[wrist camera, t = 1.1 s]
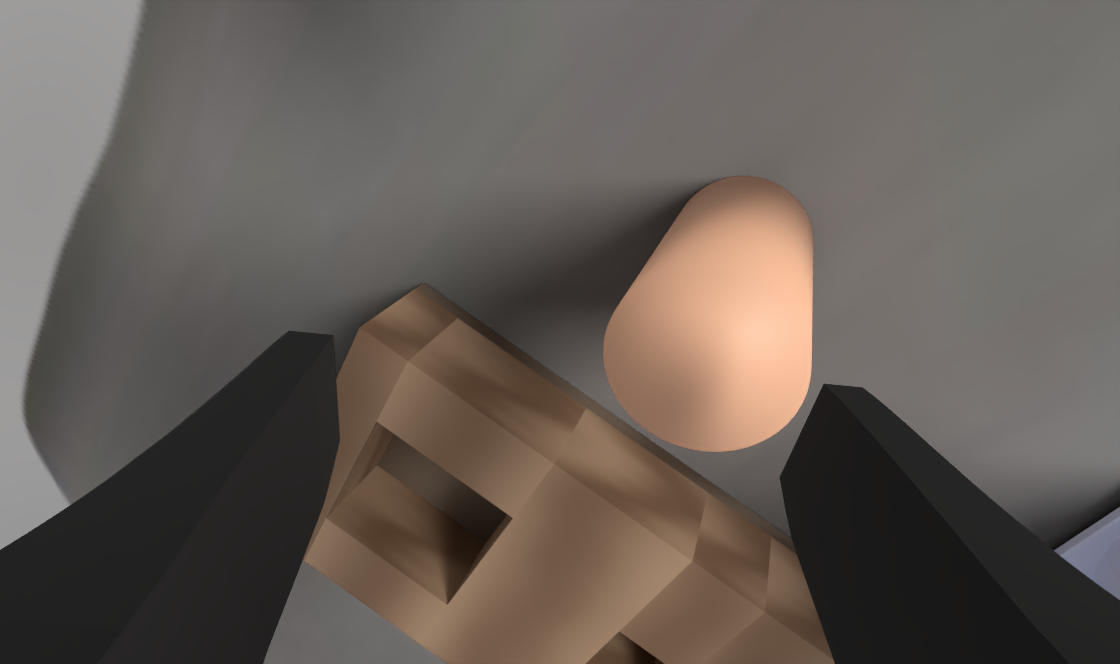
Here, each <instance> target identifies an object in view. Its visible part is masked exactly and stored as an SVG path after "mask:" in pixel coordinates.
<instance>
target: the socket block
mask: <svg viewBox="0 0 1120 664" xmlns="http://www.w3.org/2000/svg"><path fill="white" fill-rule="evenodd" d="M336 383H337V399H338V414H339V429H340V443H339V447H338V451H337V455H336V459H335V463H334V468H333V472H332V476H331V479H330V483H329V487H328V491H327V495H326V499H325V502H324V505H323V508H322V511H321V513H320V516H319V519H318V521H317V524H316V527H315V529H314V532H313V534H312V537H311V540H310V542H309V545H308V547H307V550H306V553H305V555H304V558H303V560H304V561H305V562H307V563H308V564H310V565H311V566H312V567H314V568H315V569H316V570H318V571H319V572H321V573H322V574H323V575H325V576H326V577H328V578H329V579H330V580H332V581H333V582H334V583H336V584H337V585H339V586H340V587H341V588H343V589H344V590H346V591H347V592H348V593H350V594H351V595H353V596H354V597H355V598H357V599H358V600H359V601H361V602H362V603H364V604H365V605H366V606H368V607H369V608H371V609H372V610H373V611H375V612H376V613H377V614H379V615H380V616H382V617H383V618H384V619H386V620H387V621H389V622H390V623H391V624H393V625H394V626H396V627H397V628H398V629H400V630H401V631H402V632H404V633H405V634H407V635H408V636H409V637H411V638H412V639H414V640H415V641H416V642H418V643H419V644H420V645H422V646H423V647H425V648H426V649H427V650H429V651H430V652H432V653H433V654H434V655H436V656H437V657H439V658H440V659H441V660H443V661H444V662H445V663H447V664H835V663H834V660H833V657H832V654H831V651H830V648H829V645H828V643H827V640H826V637H825V634H824V631H823V628H822V625H821V623H820V620H819V617H818V614H817V611H816V608H815V606H814V603H813V600H812V597H811V594H810V591H809V588H808V585H807V582H806V580H805V577H804V574H803V571H802V568H801V565H800V562H799V559H798V556H797V553H796V550H795V547H794V544H793V541H792V539H791V538H790V537H788V536H787V535H785V534H784V533H783V532H781V531H780V530H778V529H777V528H775V527H774V526H772V525H771V524H770V523H768V522H767V521H765V520H764V519H762V518H761V517H760V516H758V515H757V514H755V513H754V512H752V511H751V510H750V509H748V508H747V507H745V506H744V505H742V504H741V503H739V502H738V501H737V500H735V499H734V498H732V497H731V496H729V495H728V494H727V493H725V492H724V491H722V490H721V489H719V488H718V487H717V486H715V485H714V484H712V483H711V482H709V481H708V480H706V479H705V478H704V477H702V476H701V475H699V474H698V473H696V472H695V471H694V470H692V469H691V468H689V467H688V466H686V465H685V464H683V463H682V462H681V461H679V460H678V459H676V458H675V457H673V456H672V455H671V454H669V453H668V452H666V451H665V450H663V449H662V448H661V447H659V446H658V445H656V444H655V443H653V442H652V441H650V440H649V439H648V438H646V437H645V436H643V435H642V434H640V433H639V432H638V431H636V430H635V429H633V428H632V427H630V426H629V425H628V424H626V423H625V422H623V421H622V420H620V419H619V418H617V417H616V416H615V415H613V414H612V413H610V412H609V411H607V410H606V409H605V408H603V407H602V406H600V405H599V404H597V403H596V402H594V401H593V400H592V399H590V398H589V397H587V396H586V395H584V394H583V393H582V392H580V391H579V390H577V389H576V388H574V387H573V386H572V385H570V384H569V383H567V382H566V381H564V380H563V379H561V378H560V377H559V376H557V375H556V374H554V373H553V372H551V371H550V370H549V369H547V368H546V367H544V366H543V365H541V364H540V363H539V362H537V361H536V360H534V359H533V358H531V357H530V356H528V355H527V354H526V353H524V352H523V351H521V350H520V349H518V348H517V347H516V346H514V345H513V344H511V343H510V342H508V341H507V340H505V339H504V338H503V337H501V336H500V335H498V334H497V333H495V332H494V331H493V330H491V329H490V328H488V327H487V326H485V325H484V324H483V323H481V322H480V321H478V320H477V319H475V318H474V317H472V316H471V315H470V314H468V313H467V312H465V311H464V310H462V309H461V308H460V307H458V306H457V305H455V304H454V303H452V302H451V301H449V300H448V299H447V298H445V297H444V296H442V295H441V294H439V293H438V292H437V291H435V290H434V289H432V288H431V287H429V286H428V285H427V284H425V283H422V284H421V285H420V286H418V287H417V288H415V289H414V290H412V291H411V292H410V293H408V294H407V295H405V296H404V297H402V298H401V299H400V300H398V301H397V302H395V303H394V304H392V305H391V306H390V307H388V308H387V309H385V310H384V311H382V312H381V313H380V314H378V315H377V316H375V317H374V318H372V319H371V320H370V321H368V322H367V323H365V324H364V325H362V326H361V327H360V328H359V330H358V332H357V334H356V337H355V339H354V341H353V343H352V345H351V348H350V350H349V352H348V354H347V356H346V359H345V361H344V363H343V365H342V367H341V370H340V372H339V374H338V376H337V379H336Z"/></svg>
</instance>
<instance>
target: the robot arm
mask: <svg viewBox="0 0 1120 664" xmlns="http://www.w3.org/2000/svg"><path fill="white" fill-rule="evenodd" d="M339 443H340V429H339V414H338V399H337V383H336V368H335V353H334V338H333V335H326V334H316V333H306V332H296V331H288V332H287V333H285V334H284V335H283V336H282V337H280V338H279V339H278V340H277V341H276V342H275V343H273V344H272V345H271V346H270V347H269V348H268V349H267V350H265V351H264V352H263V353H262V354H261V355H260V356H259V357H258V358H256V359H255V360H254V361H253V362H252V363H251V364H250V365H249V366H247V367H246V368H245V369H244V370H243V371H242V372H241V373H240V374H238V375H237V376H236V377H235V378H234V379H233V380H232V381H230V382H229V383H228V384H227V385H226V386H225V387H224V388H222V389H221V390H220V391H219V392H218V393H217V394H215V395H214V396H213V397H212V398H211V399H209V400H208V401H207V402H206V403H205V404H203V405H202V406H201V407H200V408H199V409H197V410H196V411H195V412H194V413H193V414H191V415H190V416H189V417H188V418H187V419H185V420H184V421H183V422H182V423H181V424H179V425H178V426H177V427H176V428H174V429H173V430H172V431H171V432H169V433H168V434H167V435H166V436H164V437H163V438H162V439H160V440H159V441H158V442H157V443H155V444H154V445H153V446H151V447H150V448H149V449H147V450H146V451H145V452H143V453H142V454H141V455H139V456H138V457H137V458H135V459H134V460H133V461H131V462H130V463H129V464H127V465H126V466H125V467H123V468H122V469H121V470H120V471H118V472H117V473H116V474H114V475H113V476H112V477H110V478H109V479H107V480H106V481H105V482H103V483H102V484H100V485H99V486H97V487H96V488H95V489H93V490H92V491H90V492H89V493H88V494H86V495H85V496H83V497H82V498H80V499H79V500H77V501H76V502H74V503H73V504H72V505H70V506H69V507H67V508H66V509H64V510H63V511H61V512H60V513H58V514H56V515H55V516H53V517H52V518H50V519H49V520H47V521H46V522H44V523H42V524H41V525H39V526H38V527H36V528H35V529H33V530H32V531H30V532H28V533H27V534H25V535H24V536H22V537H21V538H19V539H17V540H16V541H14V542H12V543H11V544H9V545H7V546H6V547H4V548H3V549H1V550H0V664H263V662H264V659H265V656H266V653H267V650H268V648H269V645H270V643H271V640H272V637H273V635H274V632H275V630H276V627H277V625H278V622H279V619H280V617H281V614H282V612H283V609H284V607H285V604H286V601H287V599H288V596H289V594H290V591H291V589H292V586H293V583H294V581H295V578H296V576H297V573H298V571H299V568H300V565H301V563H302V560H303V558H304V555H305V553H306V550H307V547H308V545H309V542H310V540H311V537H312V534H313V532H314V529H315V527H316V524H317V521H318V519H319V516H320V513H321V511H322V508H323V505H324V502H325V499H326V495H327V491H328V487H329V483H330V479H331V476H332V472H333V468H334V463H335V459H336V455H337V451H338V447H339ZM780 481H781V487H782V492H783V498H784V503H785V509H786V514H787V518H788V523H789V528H790V532H791V537H792V541H793V544H794V547H795V550H796V553H797V556H798V559H799V562H800V565H801V568H802V571H803V574H804V577H805V580H806V582H807V585H808V588H809V591H810V594H811V597H812V600H813V603H814V606H815V608H816V611H817V614H818V617H819V620H820V623H821V625H822V628H823V631H824V634H825V637H826V640H827V643H828V645H829V648H830V651H831V654H832V657H833V660H834V663H835V664H1120V507H1119V508H1117V509H1116V510H1114V511H1113V512H1111V513H1110V514H1108V515H1107V516H1105V517H1104V518H1102V519H1101V520H1099V521H1098V522H1096V523H1095V524H1093V525H1092V526H1090V527H1089V528H1087V529H1086V530H1084V531H1083V532H1081V533H1080V534H1078V535H1077V536H1075V537H1074V538H1072V539H1071V540H1069V541H1068V542H1066V543H1065V544H1063V545H1062V546H1060V547H1059V548H1057V549H1056V550H1052V549H1051V548H1050V547H1049V546H1047V545H1046V544H1045V543H1044V542H1042V541H1041V540H1040V539H1039V538H1037V537H1036V536H1035V535H1034V534H1032V533H1031V532H1030V531H1029V530H1028V529H1026V528H1025V527H1024V526H1023V525H1021V524H1020V523H1019V522H1018V521H1016V520H1015V519H1014V518H1013V517H1012V516H1010V515H1009V514H1008V513H1007V512H1006V511H1005V510H1003V509H1002V508H1001V507H1000V506H999V505H997V504H996V503H995V502H994V501H993V500H992V499H990V498H989V497H988V496H987V495H986V494H985V493H983V492H982V491H981V490H980V489H979V488H978V487H976V486H975V485H974V484H973V483H972V482H971V481H970V480H969V479H967V478H966V477H965V476H964V475H963V474H962V473H961V472H959V471H958V470H957V469H956V468H955V467H954V466H953V465H952V464H950V463H949V462H948V461H947V460H946V459H945V458H944V457H943V456H941V455H940V454H939V453H938V452H937V451H936V450H935V449H934V448H932V447H931V446H930V445H929V444H928V443H927V442H926V441H925V440H924V439H922V438H921V437H920V436H919V435H918V434H917V433H916V432H915V431H913V430H912V429H911V428H910V427H909V426H908V425H907V424H906V423H904V422H903V421H902V420H901V419H900V418H899V417H898V416H897V415H895V414H894V413H893V412H892V411H891V410H890V409H888V408H887V407H886V406H885V405H884V404H883V403H881V402H880V401H879V400H878V399H877V398H875V397H874V396H873V395H872V394H870V393H869V392H868V391H866V390H865V389H864V388H862V387H852V386H841V385H831V384H823V387H822V389H821V391H820V393H819V395H818V397H817V399H816V401H815V404H814V406H813V408H812V410H811V412H810V414H809V416H808V418H807V421H806V423H805V425H804V427H803V429H802V431H801V433H800V435H799V438H798V440H797V442H796V444H795V446H794V448H793V450H792V452H791V455H790V457H789V459H788V461H787V463H786V465H785V467H784V469H783V472H782V474H781V476H780Z"/></svg>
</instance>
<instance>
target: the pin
mask: <svg viewBox="0 0 1120 664" xmlns="http://www.w3.org/2000/svg"><path fill="white" fill-rule="evenodd" d="M812 295H813V232H812V227H811V223H810V220H809V218H808V215H807V213H806V211H805V210H804V208H803V206H802V205H801V204H800V202H799V201H798V200H797V199H796V198H795V197H794V196H793V195H792V194H791V193H790V192H789V191H787V190H786V189H785V188H783V187H781V186H780V185H778V184H776V183H774V182H771V181H769V180H766V179H762V178H759V177H751V176H736V177H729V178H725V179H721V180H718V181H716V182H713V183H711V184H709V185H708V186H706V187H704V188H703V189H701V190H700V191H698V192H697V193H696V194H695V195H694V196H693V197H692V198H691V199H690V200H689V201H688V202H687V204H686V205H685V206H684V208H683V209H682V211H681V212H680V214H679V215H678V217H677V218H676V220H675V221H674V223H673V224H672V226H671V227H670V229H669V230H668V232H667V233H666V235H665V236H664V238H663V239H662V241H661V242H660V244H659V245H658V247H657V248H656V250H655V251H654V253H653V254H652V256H651V257H650V258H649V260H648V261H647V263H646V264H645V266H644V267H643V269H642V270H641V272H640V273H639V275H638V276H637V278H636V279H635V281H634V282H633V284H632V285H631V287H630V288H629V290H628V291H627V293H626V294H625V296H624V297H623V299H622V300H621V302H620V303H619V305H618V306H617V308H616V310H615V311H614V313H613V315H612V317H611V319H610V321H609V324H608V326H607V330H606V334H605V338H604V346H603V358H604V366H605V372H606V375H607V378H608V382H609V384H610V387H611V389H612V391H613V393H614V395H615V396H616V398H617V400H618V401H619V403H620V404H621V406H622V407H623V408H624V409H625V411H626V412H627V413H628V414H629V415H630V416H631V417H632V418H633V419H634V420H635V421H636V422H637V423H638V424H639V425H641V426H642V427H643V428H644V429H646V430H647V431H649V432H650V433H652V434H653V435H655V436H657V437H658V438H661V439H663V440H665V441H667V442H669V443H672V444H674V445H677V446H680V447H684V448H688V449H692V450H698V451H706V452H723V451H733V450H738V449H742V448H746V447H749V446H752V445H755V444H758V443H760V442H762V441H764V440H766V439H768V438H769V437H771V436H772V435H774V434H775V433H777V432H778V431H780V430H781V429H782V428H783V427H784V426H785V425H786V424H788V422H789V421H790V420H791V419H792V418H793V417H794V415H795V414H796V413H797V411H798V410H799V408H800V406H801V405H802V403H803V401H804V398H805V396H806V394H807V391H808V387H809V383H810V377H811V359H812Z"/></svg>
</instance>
